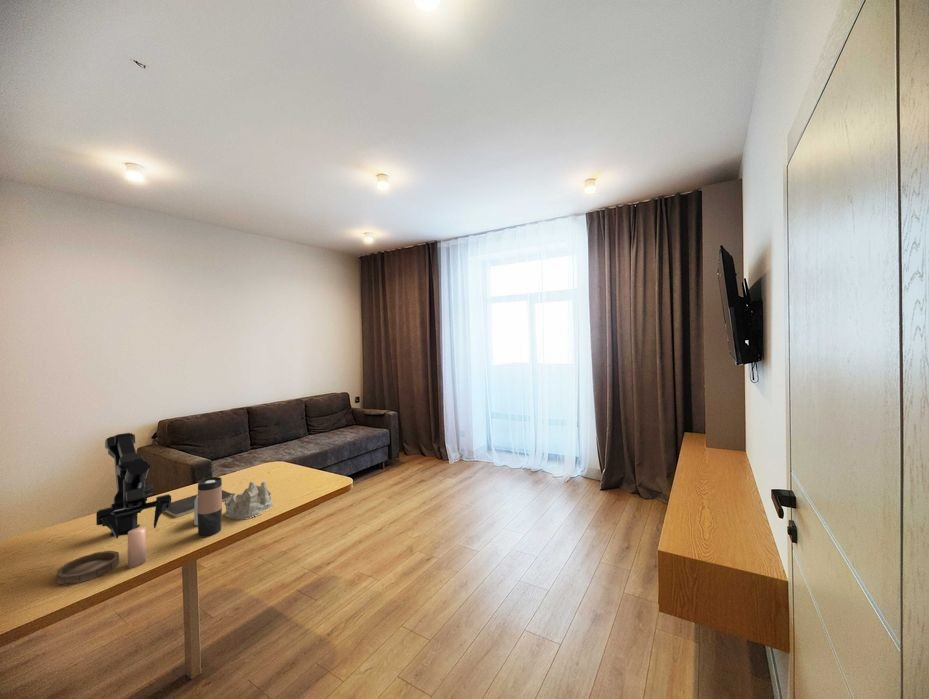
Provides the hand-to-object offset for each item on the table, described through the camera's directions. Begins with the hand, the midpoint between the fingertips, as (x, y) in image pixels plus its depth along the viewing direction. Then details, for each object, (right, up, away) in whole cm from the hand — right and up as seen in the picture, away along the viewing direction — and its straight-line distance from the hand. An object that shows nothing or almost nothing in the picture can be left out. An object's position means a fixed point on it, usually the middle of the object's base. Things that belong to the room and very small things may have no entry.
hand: (136, 532), depth 117 cm
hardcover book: (-13, -10, +44) cm, 47 cm away
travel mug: (+11, -10, +19) cm, 24 cm away
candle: (+1, -10, -2) cm, 10 cm away
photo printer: (+2, -10, +28) cm, 30 cm away
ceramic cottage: (+15, -10, +37) cm, 41 cm away
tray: (-10, -9, -5) cm, 15 cm away
